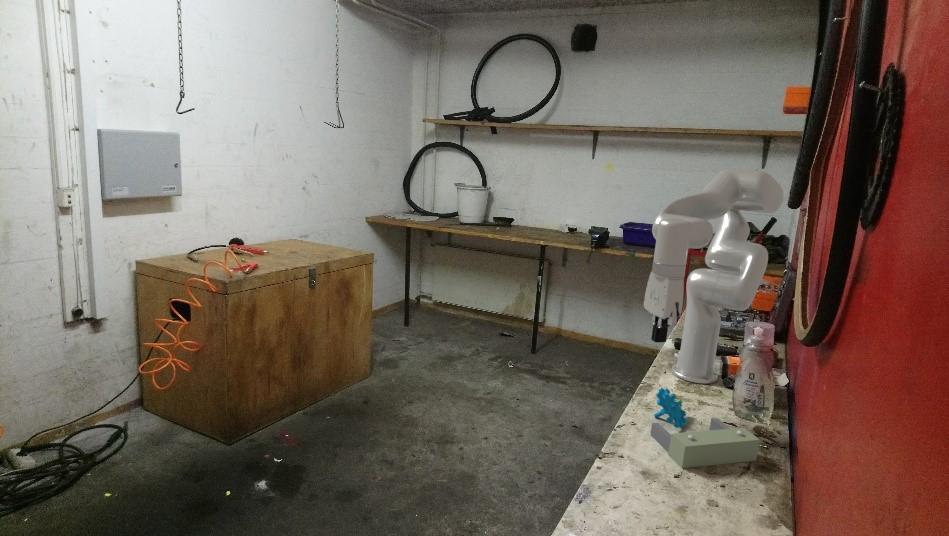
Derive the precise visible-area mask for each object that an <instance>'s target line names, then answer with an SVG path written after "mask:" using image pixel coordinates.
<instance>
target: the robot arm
mask: <svg viewBox="0 0 949 536" xmlns="http://www.w3.org/2000/svg"><path fill="white" fill-rule="evenodd" d="M783 201H784V190H783V187H782V185H781V184H780V183H779V182H778V181H777V179H775V178H774V176H773V175H771V174H769V173H768V172H766V171H762V170H755V169H742V168H726V169H723V170H721V171H719V172H718V173H716V175H715V176H714V177H713V178H712V179H711V181H709V182H708V183H707V184H706V185H705V186H704V188H703V189H702V190H701V191H700V192H696V193H692V194H689V195H686V196H684V197H681V198H678V199H676V200H673V201H671V202H670V203H668V204H667V205H666V206H665V207H664V208H663V209H662V210H660V212H658V214H657V216H656V217H655V219H654V221H653V224H652V228H651V233H652V235H653V238H654V239H655V247H654V254H653V261H652V266H651V267H652V269H651V271H650V273H649V277H648V280H647V284H646V289H645V292H644V293H645V294H644V299H643V300H644V301H643V308H644V309H645V310H646V311H647V312H648V313H649V314H650V315H651V317H652V318H651V319H652V320H651V323H652V333H651V337H650V339H651V341H653V342H654V343H666V342H667V339H668V337H667V336H668V332H669V331H668V330H669V328H670V326H676V325H677V323H678V322H677V319H680V318H681V316H682V313H683V305H684V293H685V291H684V290H685V289H686V308H685V309H686V310H685V317H684V322H683V323H684V324H683V328H682V329H683V330H682V335H681V336H682V337H681V343H680V350H679V351H678V352H676V353H674V354H673V357H674V358H675V359H676V360H677V361H676V363H674V364H673V365H672V366H671V372H672V373H673V375H675V376H676V377H678V378H680V379H682V380H684V381H687V382H691V383H695V384H707V385H708V384H712V383H715V382H717V381H718V378H719V375H718V373H717V372H716V371H715V370H714V366H715V361H716V354H717V348H718V343H719V336H720V332H721V331H720V330H721V325H722V318H721V314H720V311H719V310H718V307H721V308H725V309H729V310H732V311H733V310H734V311H738V312H741V311H742V312H743V311H746V310H747V309H748V308H750V306H751V305H752V302H753V301H754V300H755V299H754V298H755V297H756V294H757V292H758V289H759V286H760V284H761V281H762V279H763V277H764V275H765V272H766V270H767V267H768V261H769V252H768V250H767V248H766V247H765V246H764V245H762V244H760V243H756V242H751V241H747V240H748V238H749V235H750V233H751V228H750V226H749V225H750V224H749V223H748V221H747V220H746V218H745V217H744V215H743V214H742V212H741V211H745V212H754V213H762V214H774V213H776V212H777V211H778V210H779V209H780V208H781V206H783ZM716 219H718V226H717V229H716V231H715V232H714V227H713V225H712V224H711V222H709V221H712V220H716ZM709 243H710V244H709ZM707 246H708V247H707ZM705 247H707V250H706V254H705V256H704V262H705V265H706V266H707V267H708V268H705V267H704V268H703V267H702V268H697V269H694V270H692V271H691V272H690V273H689V275H688V276H687V279H686V288H685V284H684V283H685V282H684V281H685V274H686V266H687V261H688V260H687V259H688V253H689V249H703V248H705ZM684 288H685V289H684Z"/></svg>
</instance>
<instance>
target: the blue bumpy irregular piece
mask: <svg viewBox="0 0 949 536" xmlns="http://www.w3.org/2000/svg"><path fill="white" fill-rule="evenodd" d="M670 393H671V392H670V390H669V389H668V388H659V389H658V392H657V393H655V396H656V397H657V398H658V399H657V400H656V404H657V405H658V406H660V407H662V408H661V409H660V411H658V412H656V413H654V414H653V416H654V418H655V419H658V418H660V417H662V416H663V415H664V416H665V415H667V416H668V417H666V421H667V422H668V423H669V424H671V423H673V425H672V426H674V428H675V429H679V428H680V429H683V428H686V425H685V424H687V422H688V419H687V418H686V417H685V416H687V412H686V410H684V409H682V408H683V400H682V399H681V398H680V399H677V395H676V394H675V393H673V392H672V393H671V394H670ZM676 399H677V400H676Z"/></svg>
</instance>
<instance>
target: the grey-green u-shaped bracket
mask: <svg viewBox="0 0 949 536" xmlns="http://www.w3.org/2000/svg"><path fill="white" fill-rule="evenodd" d="M709 424H710V425H709V429H708V430H700V431H688V432H676V433H670V432H669V431H668V430H667V429H666V428H665V427H664V426H663V425H661V424H660V423H659V422H652V423H651V429H650V436H651V437H652V438H653V439H654V440H655V441H656V442H657V443H658V444H659V445H660V446H661V447H662V448H663V449H664V450H665V451H666V452H667V455H668V456H669V457H670V458H671V460H673V461H674V462H675V463H676V464H677V465H678V466H679V467H680V468H681V469H686V468H687V469H688V468H696V467H706V466H707V467H708V466H717V465H726V464H735V463H746V462H747V463H748V462H756V461H757V458H758V453H759V447H760V441H761V439H760V438H758V437H757V436H756V435H754V434H753V433H751V431H749V430H748V429H747V428H745V427H737V428H736V427H735V428H731V427H729V426H728V425H726V424H725V422H722V421H721V420H720V419H719V418H717V417H713V418H712V417H711V419H710V423H709Z"/></svg>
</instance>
